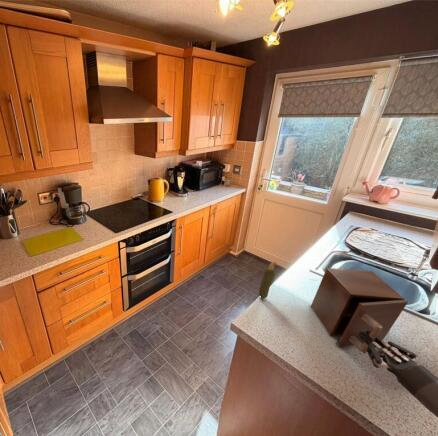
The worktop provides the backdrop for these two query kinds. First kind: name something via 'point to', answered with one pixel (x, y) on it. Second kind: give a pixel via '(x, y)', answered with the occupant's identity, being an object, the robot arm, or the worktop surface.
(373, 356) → the robot arm
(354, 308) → the cupboard
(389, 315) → the shelf door
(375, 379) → the worktop surface
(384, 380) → the worktop surface
